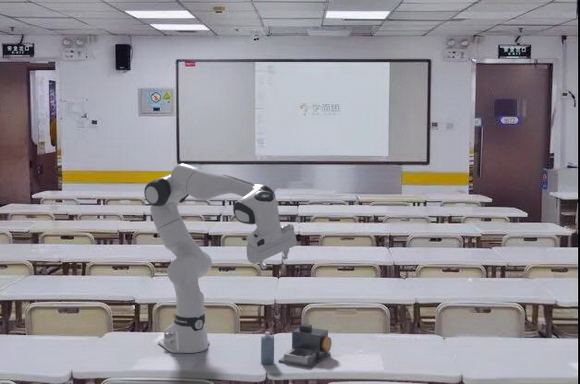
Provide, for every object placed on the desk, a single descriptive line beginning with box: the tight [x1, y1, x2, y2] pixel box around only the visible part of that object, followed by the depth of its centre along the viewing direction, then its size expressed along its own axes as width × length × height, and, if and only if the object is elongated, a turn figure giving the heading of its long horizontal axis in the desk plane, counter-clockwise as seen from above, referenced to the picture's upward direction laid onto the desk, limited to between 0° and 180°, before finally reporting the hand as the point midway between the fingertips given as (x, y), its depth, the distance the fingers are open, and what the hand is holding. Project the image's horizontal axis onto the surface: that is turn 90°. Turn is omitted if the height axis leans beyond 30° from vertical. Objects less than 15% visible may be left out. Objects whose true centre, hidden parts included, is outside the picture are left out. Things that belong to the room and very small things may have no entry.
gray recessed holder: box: [278, 323, 332, 368], centre depth 293 cm, size 15×18×12 cm
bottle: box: [260, 331, 275, 366], centre depth 287 cm, size 5×5×12 cm
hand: (274, 263), depth 283 cm, fingers open, 8 cm apart
